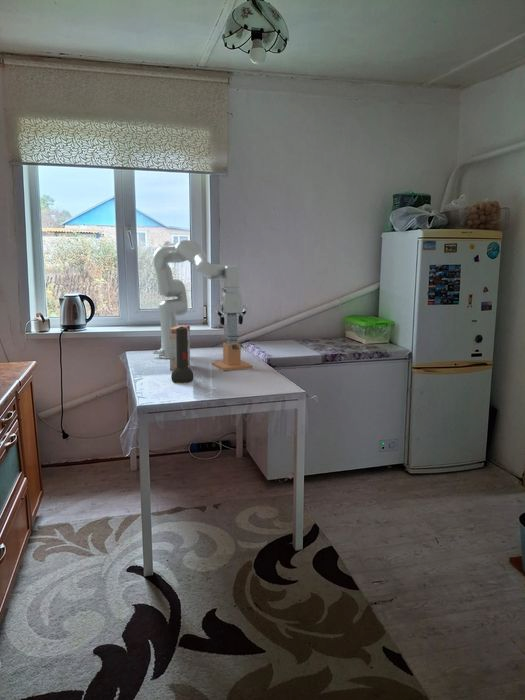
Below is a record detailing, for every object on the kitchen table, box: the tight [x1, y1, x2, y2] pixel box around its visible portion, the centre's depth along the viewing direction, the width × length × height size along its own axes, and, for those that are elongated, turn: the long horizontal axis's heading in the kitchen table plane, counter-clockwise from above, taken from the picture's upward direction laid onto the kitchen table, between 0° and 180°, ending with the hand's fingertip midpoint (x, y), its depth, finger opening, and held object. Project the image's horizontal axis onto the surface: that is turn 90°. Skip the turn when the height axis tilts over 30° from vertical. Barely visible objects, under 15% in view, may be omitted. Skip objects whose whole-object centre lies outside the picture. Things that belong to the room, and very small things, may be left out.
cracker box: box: [169, 324, 191, 371], centre depth 252 cm, size 14×6×21 cm, turn 168°
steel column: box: [225, 313, 239, 345], centre depth 255 cm, size 5×5×20 cm
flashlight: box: [170, 326, 195, 384], centre depth 225 cm, size 10×25×10 cm
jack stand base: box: [211, 342, 253, 372], centre depth 257 cm, size 16×16×12 cm
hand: (231, 324), depth 254 cm, fingers open, 9 cm apart
